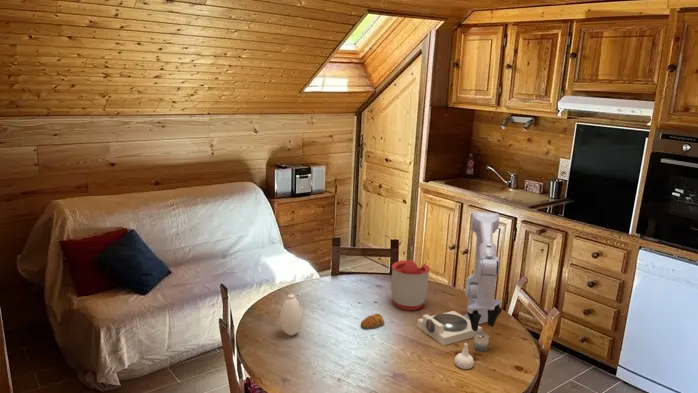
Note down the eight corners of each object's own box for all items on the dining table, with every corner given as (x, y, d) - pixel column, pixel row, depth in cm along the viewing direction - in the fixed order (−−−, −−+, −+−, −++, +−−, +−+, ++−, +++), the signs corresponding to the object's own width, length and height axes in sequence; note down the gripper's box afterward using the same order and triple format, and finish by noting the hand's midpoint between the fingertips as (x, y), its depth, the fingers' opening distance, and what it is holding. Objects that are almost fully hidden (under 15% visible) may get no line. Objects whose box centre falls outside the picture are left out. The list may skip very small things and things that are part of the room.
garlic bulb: (461, 372, 171) (464, 351, 168) (450, 361, 176) (453, 341, 174) (476, 369, 173) (480, 348, 171) (465, 358, 179) (469, 338, 176)
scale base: (453, 317, 209) (454, 302, 207) (481, 335, 195) (483, 319, 194) (416, 326, 200) (417, 311, 199) (442, 345, 187) (444, 329, 185)
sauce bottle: (305, 332, 193) (306, 286, 189) (294, 341, 186) (295, 294, 182) (287, 327, 196) (287, 282, 192) (276, 336, 189) (276, 290, 185)
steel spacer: (480, 343, 189) (482, 330, 188) (490, 349, 185) (492, 336, 184) (470, 346, 187) (471, 333, 186) (480, 352, 183) (481, 339, 182)
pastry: (367, 332, 195) (368, 323, 194) (356, 326, 200) (356, 316, 199) (386, 325, 201) (386, 316, 200) (374, 319, 206) (374, 310, 205)
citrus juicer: (434, 301, 223) (438, 257, 218) (417, 316, 209) (420, 269, 204) (401, 293, 231) (404, 250, 227) (382, 306, 217) (385, 261, 212)
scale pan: (451, 313, 206) (451, 311, 206) (474, 327, 195) (474, 325, 194) (425, 319, 200) (425, 317, 199) (447, 334, 188) (447, 332, 188)
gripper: (478, 299, 174) (474, 337, 177) (509, 292, 181) (505, 328, 184) (464, 292, 180) (460, 328, 183) (495, 285, 187) (491, 320, 190)
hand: (482, 327), depth 184 cm, fingers open, 7 cm apart
